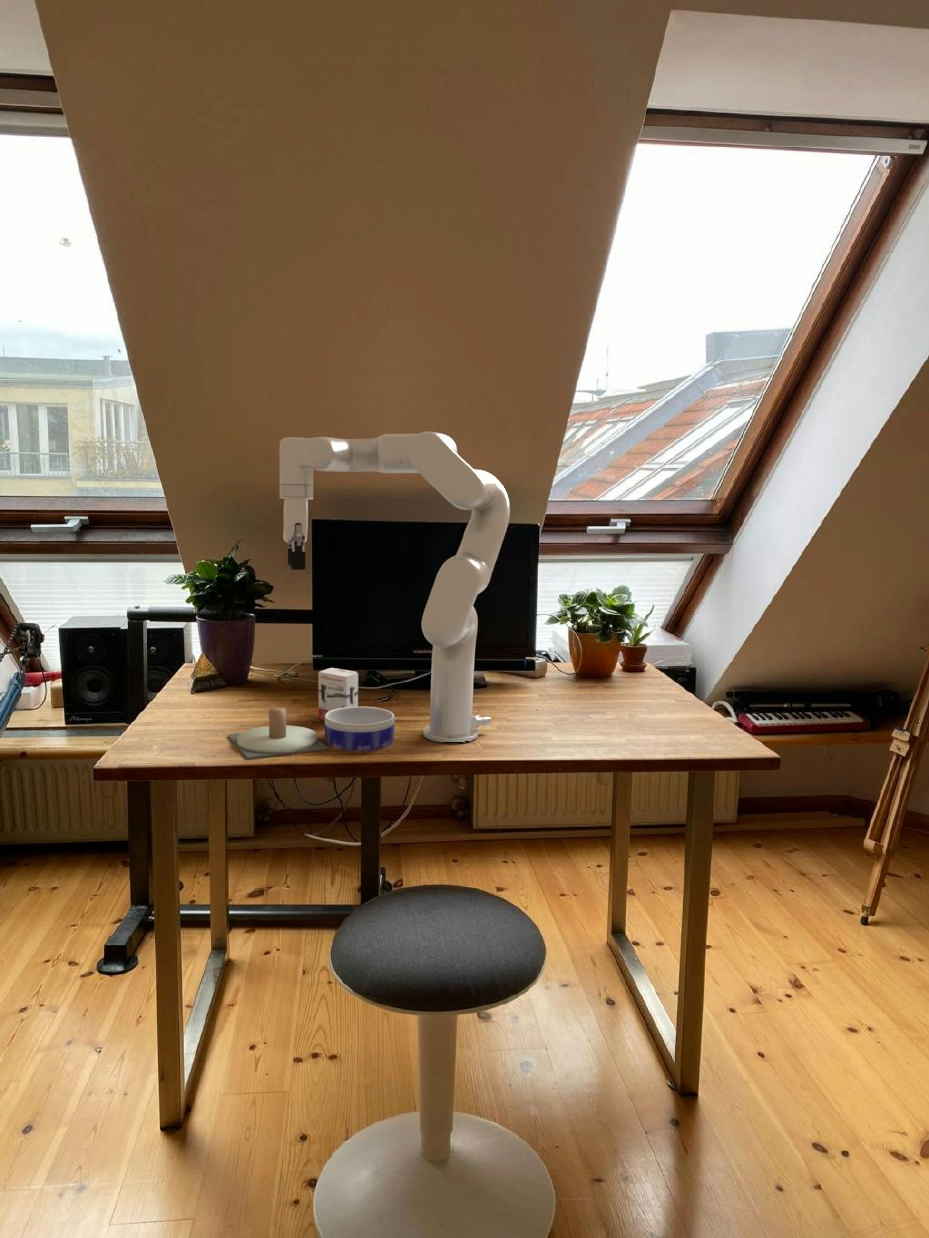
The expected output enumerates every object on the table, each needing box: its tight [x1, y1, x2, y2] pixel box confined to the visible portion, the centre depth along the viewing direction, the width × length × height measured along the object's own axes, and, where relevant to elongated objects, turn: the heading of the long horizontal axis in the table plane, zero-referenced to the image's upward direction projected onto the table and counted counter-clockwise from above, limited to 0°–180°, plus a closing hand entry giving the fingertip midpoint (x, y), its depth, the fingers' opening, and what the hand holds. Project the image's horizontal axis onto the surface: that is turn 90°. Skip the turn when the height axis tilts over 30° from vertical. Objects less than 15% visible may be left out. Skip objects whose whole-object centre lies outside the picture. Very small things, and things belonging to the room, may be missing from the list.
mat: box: [227, 725, 328, 760], centre depth 187 cm, size 17×17×1 cm
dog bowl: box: [324, 705, 396, 752], centre depth 190 cm, size 15×15×6 cm
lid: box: [237, 707, 318, 753], centre depth 186 cm, size 17×17×7 cm
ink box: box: [317, 667, 359, 721], centre depth 206 cm, size 8×5×12 cm, turn 60°
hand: (296, 567), depth 200 cm, fingers open, 9 cm apart
